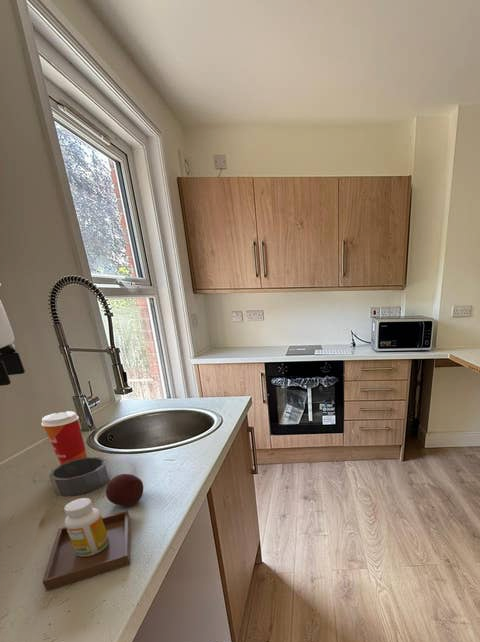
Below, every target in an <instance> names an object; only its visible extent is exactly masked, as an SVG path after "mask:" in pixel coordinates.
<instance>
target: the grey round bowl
mask: <svg viewBox="0 0 480 642" xmlns="http://www.w3.org/2000/svg"><path fill="white" fill-rule="evenodd" d="M49 473H50V474H49V476H48V477H49V480H50V482H51V485H52V488H53V490H54V493H56V494H58V496H60V497H63V496H64V497H75V496H79V495H83V494H87V493H90V492H93V491H95V490H97V489H99V488H102V487H103V486H104V485H106V484H108V483H109V481H110V480H111V474H110V470H109V466H108V463H107V459H105V458H102V457H101V456H87V457H86V458H81V459H76V460H72V461H70V462H67V463H64V464H59V465H57V466H56V467H55V468H53V469H52V470H51V471H50V472H49Z"/></svg>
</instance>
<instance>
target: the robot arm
mask: <svg viewBox="0 0 480 642" xmlns="http://www.w3.org/2000/svg"><path fill="white" fill-rule="evenodd" d="M0 287H2V283H1V282H0ZM14 342H15V334H14V331H13V328H12V325H11V322H10V320H9V318H8V314H7V312H6V309H5V307H4V305H3V303H2V300H1V299H0V387H1V386H9V385H11V379H10V376H13V375H14V376H15V375H22V374H25V373H26V370H25V368H24V365H23V362H22V359H21V356H20V353H19V352H18V347H17V346H16V345H15V343H14Z"/></svg>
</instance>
